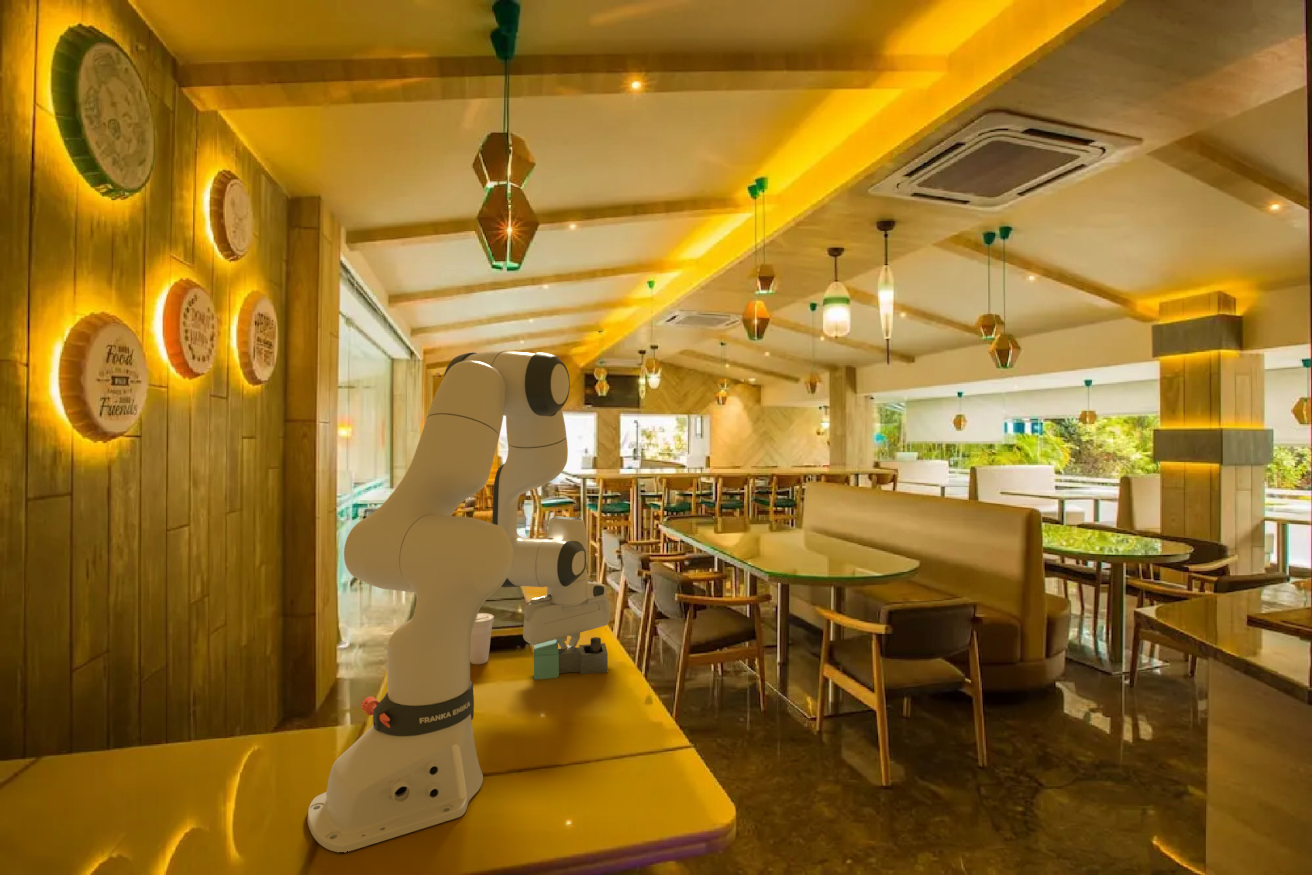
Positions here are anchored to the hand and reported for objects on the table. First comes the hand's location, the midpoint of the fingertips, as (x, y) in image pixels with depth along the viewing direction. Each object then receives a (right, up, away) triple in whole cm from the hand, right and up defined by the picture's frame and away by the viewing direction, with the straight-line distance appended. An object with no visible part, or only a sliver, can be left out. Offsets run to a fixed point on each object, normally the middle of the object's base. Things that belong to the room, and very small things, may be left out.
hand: (568, 654), depth 136 cm
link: (+1, -2, -3) cm, 4 cm away
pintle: (+6, -2, -1) cm, 7 cm away
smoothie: (-20, -3, +3) cm, 20 cm away
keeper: (-4, -2, -3) cm, 6 cm away
